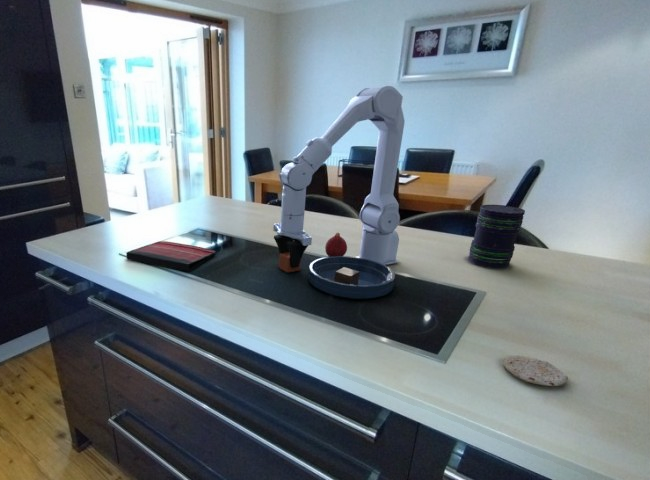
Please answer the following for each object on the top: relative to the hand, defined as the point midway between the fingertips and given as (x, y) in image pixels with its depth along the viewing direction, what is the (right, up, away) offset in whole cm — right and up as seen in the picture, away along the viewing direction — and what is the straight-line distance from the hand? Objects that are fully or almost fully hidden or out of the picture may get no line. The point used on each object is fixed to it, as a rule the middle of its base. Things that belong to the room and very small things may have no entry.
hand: (289, 264), depth 102 cm
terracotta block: (0, -1, 0) cm, 1 cm away
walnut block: (+11, -6, -12) cm, 17 cm away
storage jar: (+55, 0, +4) cm, 55 cm away
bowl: (+13, -5, -8) cm, 16 cm away
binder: (-32, +2, +9) cm, 33 cm away
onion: (+14, +1, +6) cm, 15 cm away
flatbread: (+31, -18, -41) cm, 55 cm away
